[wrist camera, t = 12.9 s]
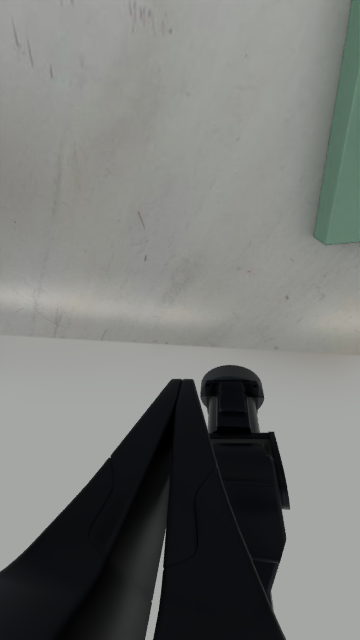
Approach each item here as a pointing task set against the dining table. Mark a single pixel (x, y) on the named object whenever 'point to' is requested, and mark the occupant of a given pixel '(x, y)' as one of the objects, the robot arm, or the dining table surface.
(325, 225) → the button housing
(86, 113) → the dining table surface
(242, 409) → the robot arm
